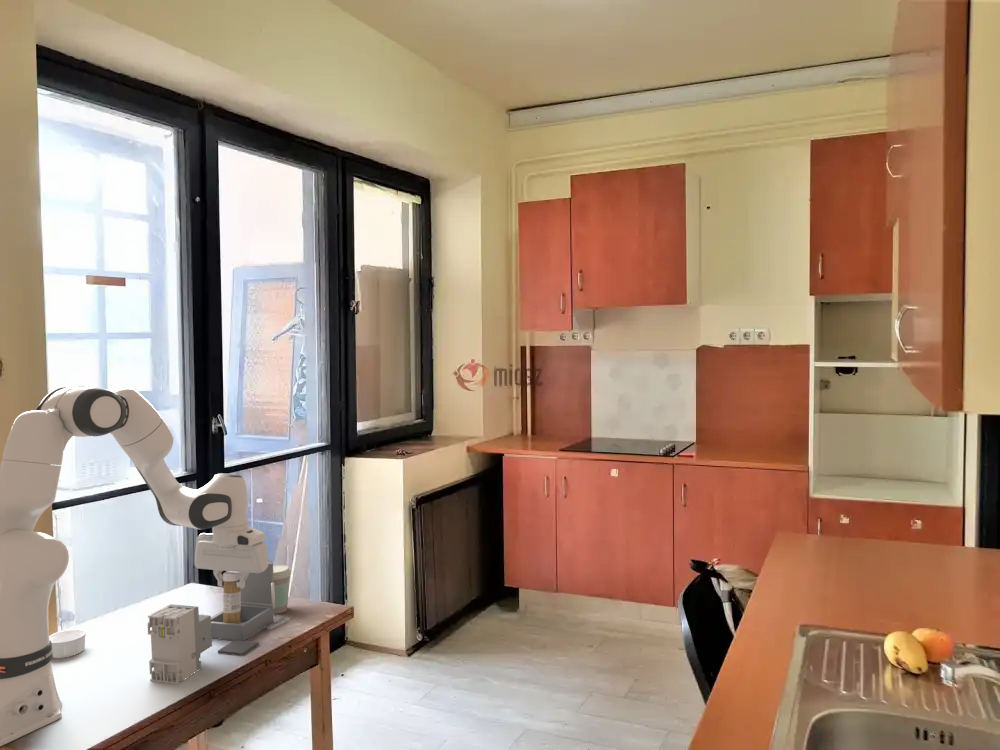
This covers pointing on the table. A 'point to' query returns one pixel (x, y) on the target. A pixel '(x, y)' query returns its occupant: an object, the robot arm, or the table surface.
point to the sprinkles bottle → (231, 598)
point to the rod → (277, 623)
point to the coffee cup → (281, 587)
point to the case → (250, 608)
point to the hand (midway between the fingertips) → (231, 587)
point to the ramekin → (67, 643)
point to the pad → (238, 647)
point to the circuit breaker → (177, 642)
